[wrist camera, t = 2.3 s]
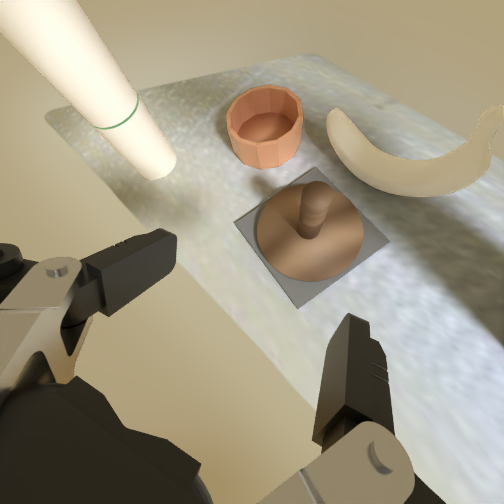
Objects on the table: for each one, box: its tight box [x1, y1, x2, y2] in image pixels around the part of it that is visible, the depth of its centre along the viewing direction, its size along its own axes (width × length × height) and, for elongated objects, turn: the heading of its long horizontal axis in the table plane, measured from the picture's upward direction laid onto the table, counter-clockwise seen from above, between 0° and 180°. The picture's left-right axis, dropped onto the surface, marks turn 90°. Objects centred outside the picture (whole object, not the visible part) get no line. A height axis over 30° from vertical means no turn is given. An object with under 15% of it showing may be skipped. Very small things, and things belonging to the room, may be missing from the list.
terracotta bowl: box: [226, 85, 303, 169], centre depth 36 cm, size 11×11×5 cm
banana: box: [326, 104, 504, 197], centre depth 27 cm, size 5×19×15 cm, turn 48°
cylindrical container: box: [0, 0, 176, 180], centre depth 28 cm, size 7×7×25 cm
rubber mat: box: [235, 167, 390, 309], centre depth 32 cm, size 15×15×1 cm
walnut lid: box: [257, 181, 363, 282], centre depth 27 cm, size 14×14×10 cm
